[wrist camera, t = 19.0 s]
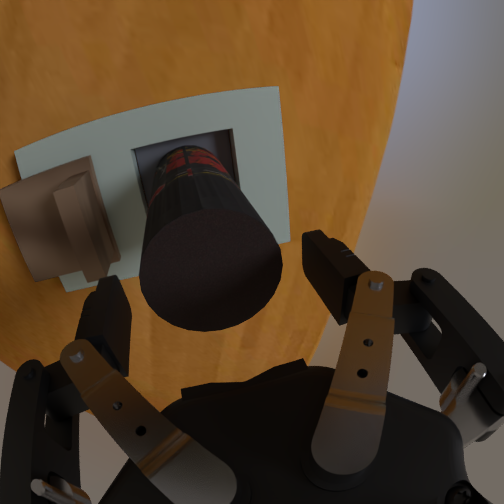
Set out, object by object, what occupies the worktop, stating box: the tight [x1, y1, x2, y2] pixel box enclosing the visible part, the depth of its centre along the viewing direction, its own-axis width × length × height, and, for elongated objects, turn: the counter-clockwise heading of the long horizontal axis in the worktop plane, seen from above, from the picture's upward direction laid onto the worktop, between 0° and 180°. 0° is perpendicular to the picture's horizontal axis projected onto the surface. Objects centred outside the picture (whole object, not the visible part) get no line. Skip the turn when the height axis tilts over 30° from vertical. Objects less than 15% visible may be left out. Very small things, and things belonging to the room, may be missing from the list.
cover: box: [0, 155, 121, 283], centre depth 19 cm, size 9×9×5 cm
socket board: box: [14, 86, 290, 292], centre depth 24 cm, size 14×22×2 cm, turn 97°
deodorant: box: [139, 145, 283, 332], centre depth 18 cm, size 6×6×15 cm
